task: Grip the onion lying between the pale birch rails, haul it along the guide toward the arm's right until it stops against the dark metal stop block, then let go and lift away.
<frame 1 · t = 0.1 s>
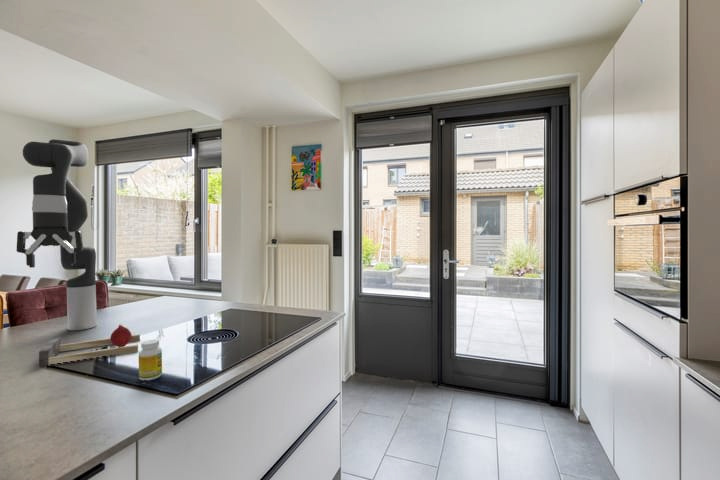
hand: (51, 266, 99), 29 cm above the counter, tool pointing down, fingers open, 8 cm apart
guide rails: (95, 351, 110), on the counter
supplement bottle: (150, 377, 91), on the counter
onion: (121, 348, 114), on the counter
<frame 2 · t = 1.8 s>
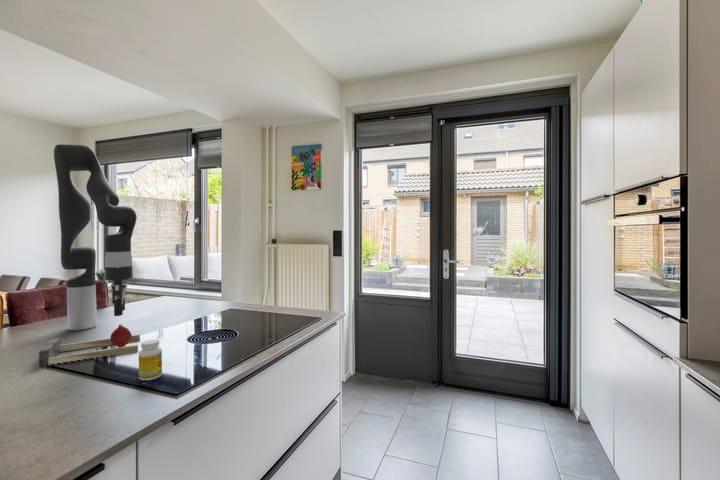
hand: (119, 313, 113), 12 cm above the counter, tool pointing down, fingers open, 8 cm apart
nothing on the counter moved.
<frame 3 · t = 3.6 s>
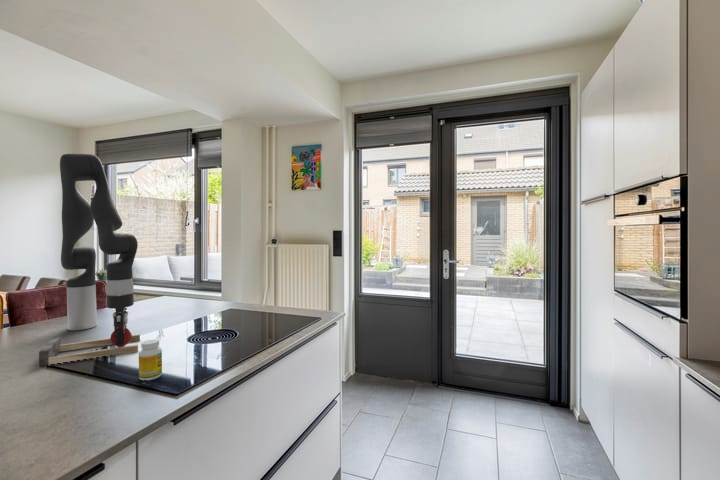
hand: (121, 341, 114), 2 cm above the counter, tool pointing down, fingers closed on onion, 6 cm apart
onion: (121, 348, 114), on the counter, touching gripper
everything else where it was.
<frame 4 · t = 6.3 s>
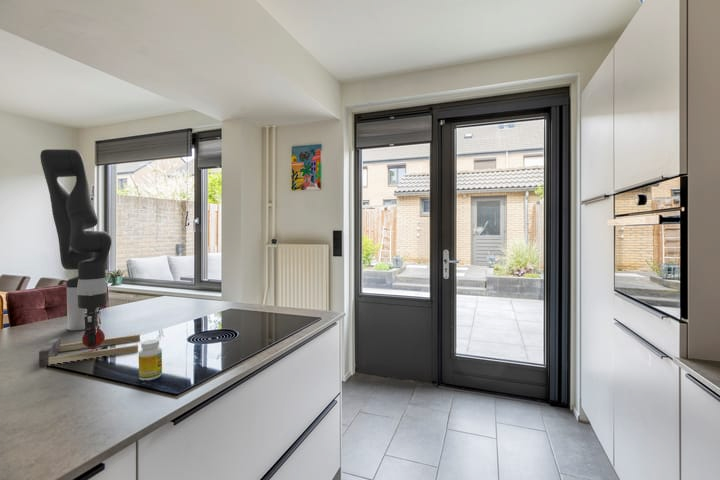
hand: (93, 342, 110), 3 cm above the counter, tool pointing down, fingers closed on onion, 6 cm apart
onion: (93, 349, 110), point 1 cm above the counter, touching gripper
everything else where it was.
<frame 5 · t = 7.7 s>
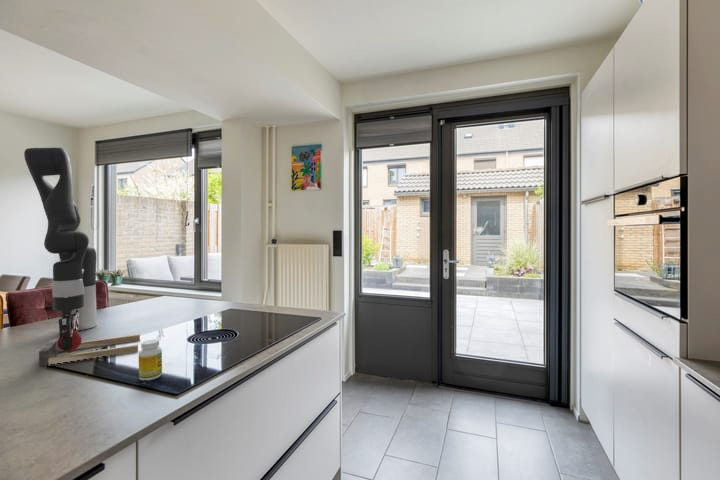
hand: (69, 346, 107), 3 cm above the counter, tool pointing down, fingers closed on onion, 6 cm apart
onion: (70, 353, 107), point 1 cm above the counter, touching gripper
everything else where it was.
when the fingers open (3 cm above the counter, at t = 9.1 s): onion stays where it is, on the counter.
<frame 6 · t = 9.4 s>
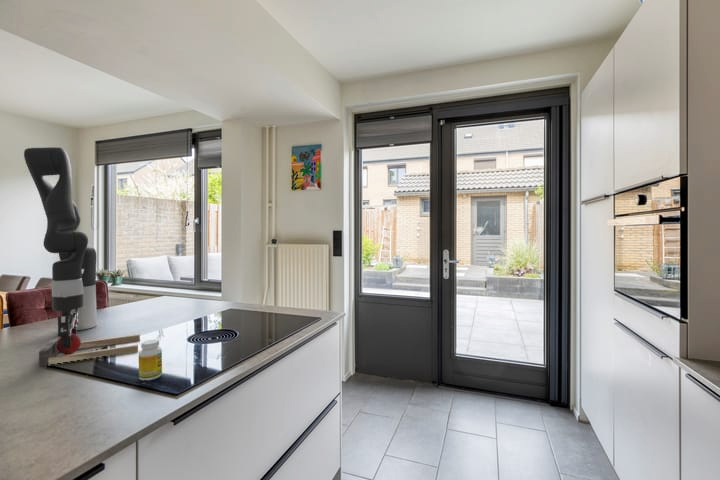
hand: (69, 344, 107), 4 cm above the counter, tool pointing down, fingers open, 8 cm apart
onion: (69, 356, 107), on the counter
everything else where it was.
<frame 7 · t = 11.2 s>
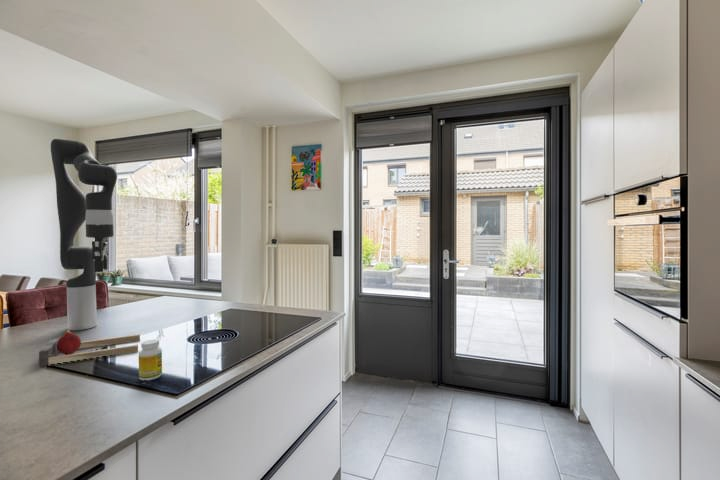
hand: (101, 270, 116), 26 cm above the counter, tool pointing down, fingers open, 8 cm apart
nothing on the counter moved.
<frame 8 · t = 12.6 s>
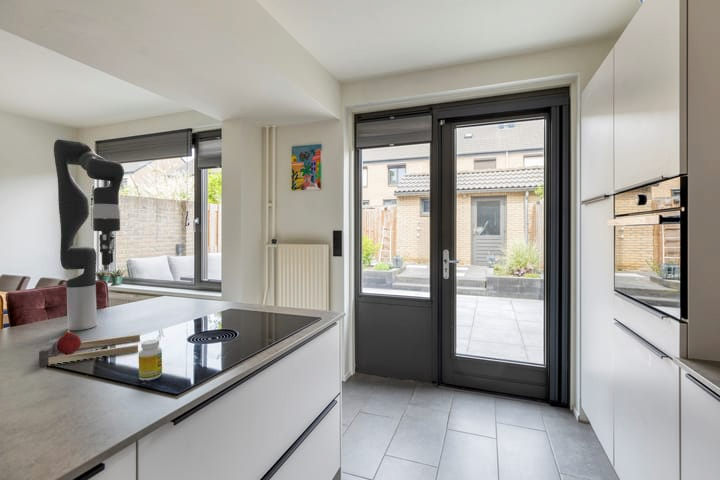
hand: (107, 263, 118), 28 cm above the counter, tool pointing down, fingers open, 8 cm apart
nothing on the counter moved.
at the end: onion 0.0 cm from the target spot, on the counter; the gripper is holding nothing; onion moved 13.5 cm from its start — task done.
